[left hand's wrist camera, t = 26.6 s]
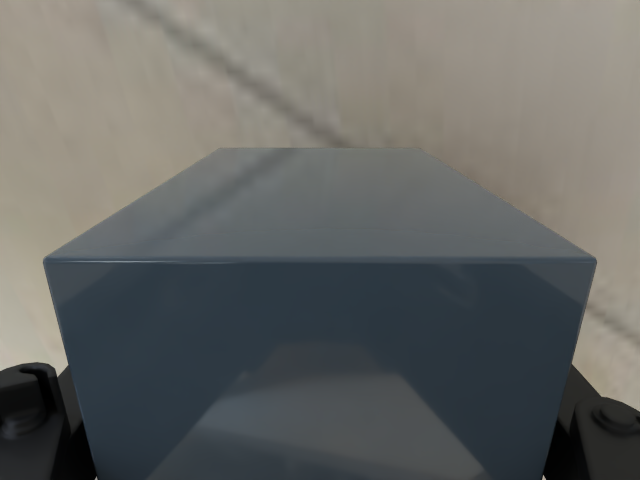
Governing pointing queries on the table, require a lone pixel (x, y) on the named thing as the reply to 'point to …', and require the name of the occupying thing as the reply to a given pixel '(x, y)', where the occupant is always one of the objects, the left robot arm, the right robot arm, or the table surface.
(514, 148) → the table surface
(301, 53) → the table surface
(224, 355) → the block
